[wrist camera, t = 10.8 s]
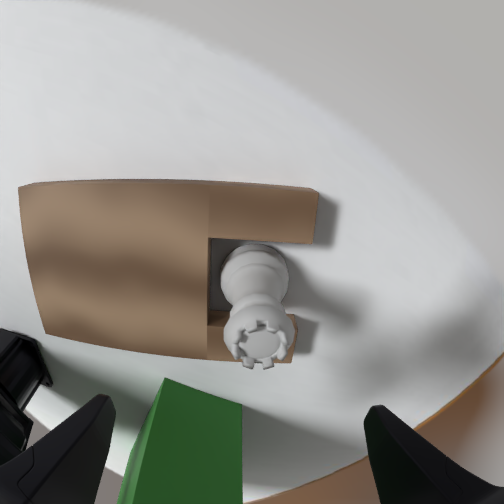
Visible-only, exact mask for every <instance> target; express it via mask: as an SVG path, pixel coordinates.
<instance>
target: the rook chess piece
mask: <svg viewBox="0 0 504 504" xmlns="http://www.w3.org/2000/svg"><path fill="white" fill-rule="evenodd" d="M288 282H289V275H288V269H287V266H286V263H285V260H284V259H283V258H282V256H281V255H280V254H279V253H278V252H277V251H276V250H274V249H272V248H270V247H268V246H266V245H262V244H248V245H245V246H242V247H239V248H236V249H235V250H234V251H233V252H232V253H230V254H229V255H228V256H227V257H226V259H225V261H224V263H223V265H222V267H221V288H222V291H223V293H224V295H225V298H226V300H227V301H228V302H230V303H231V304H232V305H233V308H232V309H231V311H230V318H229V320H228V322H227V324H226V326H225V327H224V342H225V344H226V346H227V348H228V350H229V351H231V353H232V355H233V357H234V359H235V360H237V359H239V358H240V359H242V360H243V367H246V368H249V369H253V367H254V363H263V369H264V370H265V369H268V368H272V367H274V363H273V360H275V359H276V358H278V359H279V360H281V361H283V360H284V359H285V357H286V356H287V355H288V349H289V347H290V346H291V344H292V343H293V340H294V334H295V329H294V326H293V323H292V320H291V319H290V318H289V317H288V316H287V315H286V313H285V310H284V307H283V305H282V304H281V303H280V302H281V301H282V299H283V297H284V296H285V294H286V292H287V290H288Z"/></svg>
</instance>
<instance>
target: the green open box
mask: <svg viewBox="0 0 504 504" xmlns="http://www.w3.org/2000/svg"><path fill="white" fill-rule="evenodd" d="M117 504H243V492H242V404H239V403H235V402H232V401H229V400H226V399H223V398H220V397H217V396H214V395H211V394H208V393H205V392H202V391H199V390H196V389H194V388H191V387H188V386H186V385H183V384H180V383H178V382H175V381H173V380H170V379H168V378H164V380H163V383H162V385H161V387H160V389H159V391H158V393H157V395H156V398H155V400H154V402H153V404H152V406H151V408H150V411H149V413H148V415H147V417H146V419H145V422H144V424H143V426H142V428H141V430H140V433H139V435H138V437H137V439H136V441H135V444H134V446H133V448H132V450H131V453H130V456H129V460H128V463H127V467H126V470H125V474H124V478H123V482H122V485H121V489H120V493H119V498H118V501H117Z"/></svg>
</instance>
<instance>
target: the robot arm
mask: <svg viewBox="0 0 504 504" xmlns="http://www.w3.org/2000/svg"><path fill="white" fill-rule="evenodd" d="M40 384H42V385H45V386H48V387H52V385H53V383H52V380H51V378H50V376H49V374H48V371H47V369H46V367H45V364H44V362H43V359H42V357H41V354H40V352H39V349H38V347H37V344H36V342H35V341H34V340H33V339H31V338H28V337H25V336H21V335H18V334H15V333H12V332H9V331H6V330H3V329H0V504H94V502H95V498H96V495H97V490H98V487H99V484H100V480H101V477H102V473H103V469H104V466H105V463H106V460H107V456H108V453H109V449H110V443H111V438H112V432H113V427H114V422H115V417H116V411H115V408H114V405H113V402H112V400H111V397H110V396H108V395H103V394H98V395H96V396H95V397H94V398H93V399H91V400H90V401H89V402H88V403H86V404H85V405H84V406H82V407H81V408H80V409H79V410H77V411H76V412H75V413H73V414H72V415H71V416H70V417H68V418H67V419H66V420H64V421H63V422H62V423H61V424H59V425H58V426H57V427H55V428H54V429H53V430H52V431H50V432H49V433H48V434H46V435H45V436H44V437H42V438H41V439H40V440H39V441H37V442H36V443H35V444H34V445H33V446H31V447H29V448H28V449H27V450H26V446H27V443H28V439H29V436H30V433H31V429H32V426H33V421H32V420H31V419H30V418H28V417H27V416H26V415H25V414H24V413H23V411H24V409H25V407H26V406H27V404H28V403H29V401H30V400H31V398H32V396H33V395H34V393H35V392H36V390H37V389H38V387H39V386H40ZM364 430H365V436H366V443H367V449H368V456H369V461H370V465H371V468H372V472H373V476H374V479H375V483H376V487H377V490H378V495H379V499H380V503H381V504H504V487H499V486H495V485H492V484H490V483H488V482H486V481H484V480H483V479H481V478H479V477H477V476H475V475H474V474H472V473H470V472H469V471H467V470H465V469H464V468H462V467H460V466H459V465H458V464H457V463H455V462H454V461H453V460H451V459H450V458H449V457H446V455H444V454H443V453H442V452H441V451H440V450H438V449H437V448H436V447H434V446H433V445H432V444H431V443H429V442H428V441H427V440H426V439H424V438H423V437H422V436H421V435H419V434H418V433H417V432H416V431H414V430H413V429H412V428H411V427H409V426H408V425H407V424H406V423H404V422H403V421H402V420H401V419H400V418H398V417H397V416H396V415H395V414H393V413H392V412H391V411H390V410H389V409H387V408H386V407H385V406H384V405H375V406H372V407H371V408H370V410H369V412H368V413H367V415H366V417H365V419H364Z"/></svg>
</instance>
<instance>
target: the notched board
mask: <svg viewBox="0 0 504 504" xmlns="http://www.w3.org/2000/svg"><path fill="white" fill-rule="evenodd" d="M18 193H19V206H20V217H21V225H22V233H23V240H24V247H25V252H26V258H27V263H28V269H29V273H30V278H31V282H32V287H33V291H34V295H35V299H36V303H37V306H38V310H39V313H40V317H41V320H42V324H43V327H44V330H45V333H46V334H49V335H53V336H57V337H61V338H66V339H70V340H75V341H79V342H84V343H89V344H94V345H99V346H104V347H110V348H116V349H122V350H128V351H134V352H141V353H148V354H156V355H164V356H172V357H181V358H192V359H203V360H216V361H232V362H243V360H242V359H240V358H239V359H237V360H235V359H234V357H233V355H232V353H231V351H229V350H228V348H227V346H226V344H225V342H224V327H225V326H226V324H227V322H228V320H229V318H230V311H215V310H210V268H211V238H224V239H241V240H257V241H272V242H288V243H302V244H312V242H313V235H314V228H315V221H316V213H317V205H318V197H319V193H318V192H316V191H315V190H313V189H311V188H303V187H293V186H282V185H270V184H257V183H242V182H225V181H205V180H173V179H103V180H74V181H55V182H40V183H32V184H28V185H25V186H21V187H18ZM286 315H287V316H288V317H289V318H290V319H291V320H292V323H293V326H294V329H295V334H294V340H293V343H292V344H291V346H290V347H289V349H288V355H287V356H286V357H285V359H284V360H283V361H281V360H279V359H278V358H276V359H275V360H273V363H291V362H292V357H293V352H294V347H295V342H296V337H297V332H298V328H297V325H296V321H295V318H294V314H286Z"/></svg>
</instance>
